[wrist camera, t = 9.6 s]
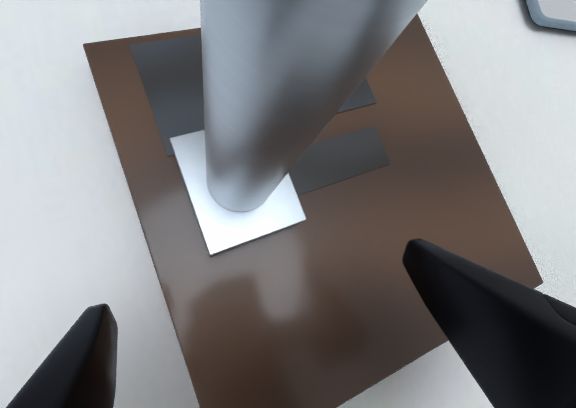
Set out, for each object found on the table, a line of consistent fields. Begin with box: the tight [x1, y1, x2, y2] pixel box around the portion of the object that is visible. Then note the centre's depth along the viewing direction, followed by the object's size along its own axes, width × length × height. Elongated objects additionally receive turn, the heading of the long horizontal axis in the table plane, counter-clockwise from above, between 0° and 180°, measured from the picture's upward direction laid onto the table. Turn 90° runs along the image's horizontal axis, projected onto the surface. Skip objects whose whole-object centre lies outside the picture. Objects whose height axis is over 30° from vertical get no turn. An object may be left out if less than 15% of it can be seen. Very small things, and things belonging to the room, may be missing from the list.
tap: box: [170, 0, 427, 257], centre depth 9 cm, size 11×4×13 cm, turn 22°
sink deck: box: [83, 14, 543, 408], centre depth 17 cm, size 20×20×2 cm
